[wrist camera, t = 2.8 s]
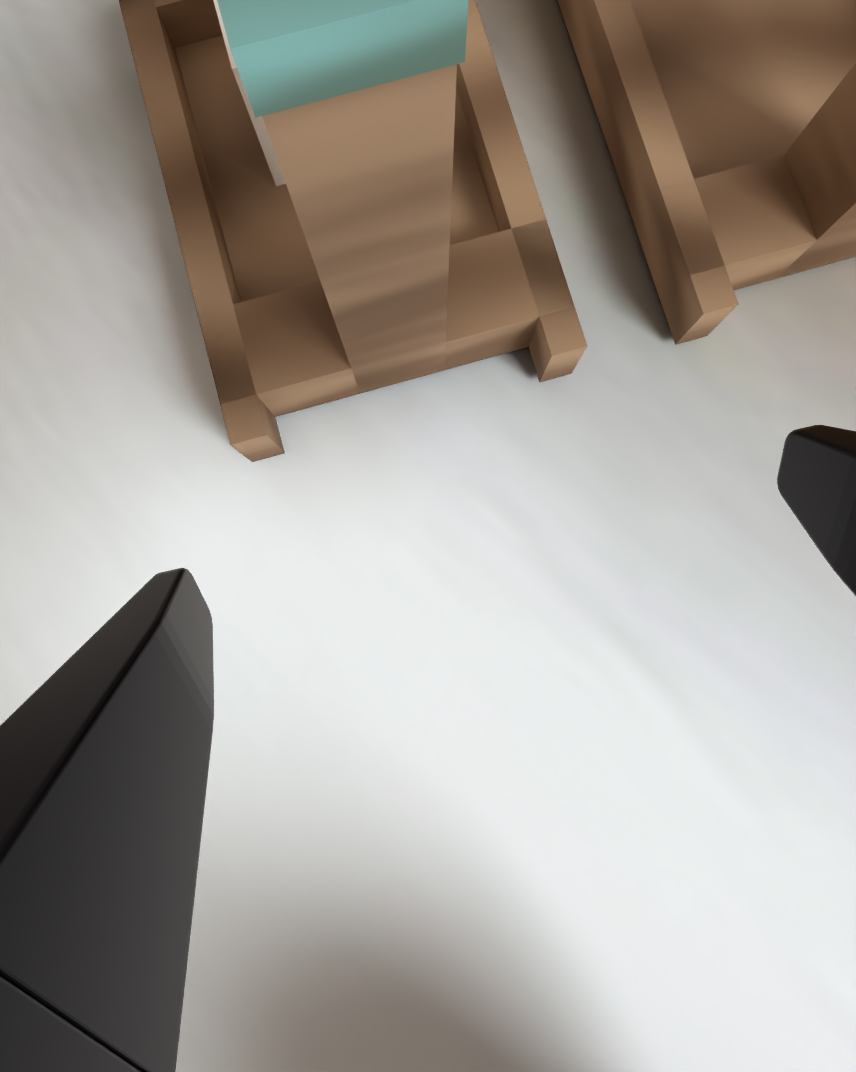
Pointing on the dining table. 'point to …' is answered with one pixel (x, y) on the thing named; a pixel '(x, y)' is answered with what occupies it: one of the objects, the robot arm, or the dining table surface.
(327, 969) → the dining table surface
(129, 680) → the robot arm
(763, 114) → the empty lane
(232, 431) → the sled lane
